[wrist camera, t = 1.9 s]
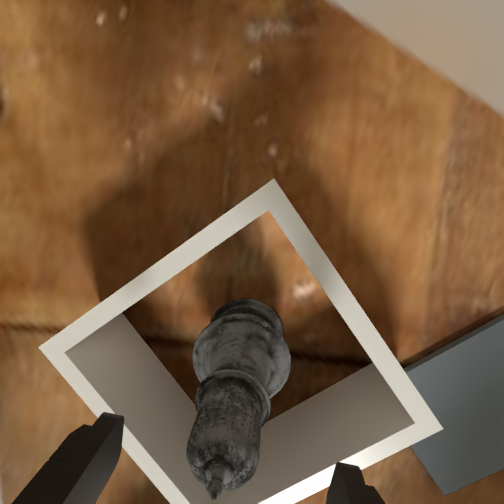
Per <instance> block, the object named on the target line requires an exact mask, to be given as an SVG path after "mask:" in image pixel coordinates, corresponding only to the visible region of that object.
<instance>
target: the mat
mask: <svg viewBox="0 0 504 504" xmlns="http://www.w3.org/2000/svg"><path fill="white" fill-rule="evenodd" d="M403 370H404V371H405V373H406V374H407V376H408V377H409V379H410V380H411V382H412V383H413V385H414V386H415V388H416V389H417V391H418V392H419V394H420V395H421V396H422V398H423V399H424V401H425V402H426V404H427V405H428V407H429V408H430V410H431V411H432V413H433V414H434V416H435V417H436V419H437V420H438V422H439V423H440V425H441V426H442V428H443V430H441V431H439V432H437V433H435V434H433V435H431V436H429V437H427V438H425V439H422V440H420V441H418V442H416V443H414V444H412V445H410V447H411V448H412V450H413V451H414V453H415V454H416V455H417V457H418V458H419V460H420V461H421V463H422V464H423V465H424V467H425V468H426V470H427V471H428V473H429V474H430V476H431V477H432V478H433V480H434V481H435V483H436V484H437V486H438V487H439V488H440V490H441V491H442V493H443V494H444V496H446V495H448V494H450V493H452V492H454V491H456V490H459V489H461V488H463V487H465V486H467V485H470V484H472V483H474V482H476V481H478V480H481V479H483V478H485V477H487V476H489V475H491V474H494V473H496V472H498V471H500V470H502V469H504V314H502V315H500V316H499V317H497V318H495V319H493V320H491V321H489V322H488V323H486V324H484V325H482V326H480V327H478V328H477V329H475V330H473V331H471V332H469V333H468V334H466V335H464V336H462V337H460V338H458V339H457V340H455V341H453V342H451V343H449V344H447V345H446V346H444V347H442V348H440V349H438V350H436V351H435V352H433V353H431V354H429V355H427V356H425V357H424V358H422V359H420V360H418V361H416V362H414V363H413V364H411V365H409V366H407V367H405V368H403Z"/></svg>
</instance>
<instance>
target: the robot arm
mask: <svg viewBox="0 0 504 504" xmlns="http://www.w3.org/2000/svg"><path fill="white" fill-rule="evenodd" d="M123 429H124V416H122V415H117V414H112V413H107V412H103V413H102V414H101V415H100V416H99V418H98V419H97V420H96V422H95V423H94V424H93V425H92V426H89V425H85V424H84V425H82V426H81V427H79V428H78V429H76V430H75V431H73V432H72V433H70V434H69V435H68V436H67V438H66V439H65V440H64V441H63V442H62V444H61V445H60V446H59V447H58V450H56V451H55V452H54V453H53V454H52V456H51V457H50V458H49V461H47V462H46V463H45V464H44V465H43V466H42V468H41V469H40V470H39V471H38V473H37V474H36V475H35V476H34V477H33V479H32V480H31V481H30V482H29V483H28V485H27V486H26V487H25V488H24V489H23V491H22V492H21V493H20V494H19V495H18V497H17V498H16V499H15V500H14V501H13V503H12V504H95V503H96V501H97V499H98V497H99V496H100V494H101V492H102V490H103V489H104V487H105V485H106V483H107V482H108V480H109V478H110V476H111V474H112V473H113V471H114V469H115V467H116V465H117V462H118V460H119V457H120V453H121V448H122V438H123ZM326 504H385V502H384V501H383V499H382V498H381V496H380V495H379V494H378V492H377V491H376V489H375V488H374V487H373V486H368V485H365V482H364V479H363V475H362V472H361V469H360V467H359V466H356V465H351V464H346V463H341V462H337V463H336V466H335V469H334V473H333V476H332V480H331V483H330V487H329V490H328V494H327V500H326Z"/></svg>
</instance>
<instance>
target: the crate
mask: <svg viewBox="0 0 504 504" xmlns="http://www.w3.org/2000/svg"><path fill="white" fill-rule="evenodd" d="M267 210H269V212H270V213H271V214H272V216H273V217H274V219H275V220H276V222H277V223H278V225H279V226H280V228H281V229H282V230H283V232H284V233H285V235H286V236H287V238H288V239H289V241H290V242H291V244H292V245H293V246H294V248H295V249H296V251H297V252H298V254H299V255H300V257H301V258H302V260H303V261H304V262H305V264H306V265H307V267H308V268H309V270H310V271H311V273H312V274H313V276H314V277H315V278H316V280H317V281H318V283H319V284H320V286H321V287H322V289H323V290H324V291H325V293H326V294H327V296H328V297H329V299H330V300H331V302H332V303H333V305H334V306H335V307H336V309H337V310H338V312H339V313H340V315H341V316H342V318H343V319H344V321H345V322H346V323H347V325H348V326H349V328H350V329H351V331H352V332H353V334H354V335H355V337H356V338H357V339H358V341H359V342H360V344H361V345H362V347H363V348H364V350H365V351H366V353H367V354H368V355H369V357H370V358H371V360H372V361H373V363H371V364H369V365H367V366H366V367H364V368H362V369H360V370H359V371H357V372H355V373H353V374H351V375H350V376H348V377H346V378H344V379H342V380H341V381H339V382H337V383H335V384H334V385H332V386H330V387H328V388H326V389H325V390H323V391H321V392H319V393H318V394H316V395H314V396H312V397H310V398H309V399H307V400H305V401H303V402H301V403H300V404H298V405H296V406H294V407H293V408H291V409H289V410H287V411H285V412H284V413H282V414H280V415H278V416H276V417H275V418H273V419H271V420H269V421H268V422H266V423H265V425H264V426H263V427H262V428H261V439H260V456H259V462H258V465H257V468H256V471H255V474H254V475H253V476H252V478H251V479H250V480H249V481H248V482H246V483H245V484H244V485H243V486H241V487H240V488H237V489H235V490H230V491H225V493H224V494H223V495H221V496H220V497H219V498H217V499H216V500H212V499H211V497H210V496H209V493H208V492H207V490H206V486H205V485H203V484H202V483H201V482H199V481H198V480H197V479H196V478H195V476H194V475H193V473H192V472H191V470H190V468H189V465H188V462H187V457H186V448H187V443H188V439H189V436H190V433H191V430H192V427H193V424H194V421H195V418H196V416H197V411H196V408H195V404H194V403H193V402H192V401H191V399H190V398H189V397H188V396H187V394H186V393H185V392H184V390H183V389H182V388H181V387H180V385H179V384H178V383H177V382H176V380H175V379H174V378H173V377H172V375H171V374H170V373H169V371H168V370H167V369H166V368H165V366H164V365H163V364H162V363H161V361H160V360H159V359H158V358H157V356H156V355H155V354H154V353H153V351H152V350H151V349H150V347H149V346H148V345H147V344H146V342H145V341H144V340H143V339H142V337H141V336H140V335H139V334H138V332H137V331H136V330H135V329H134V327H133V326H132V325H131V323H130V322H129V321H128V320H127V318H126V317H125V316H124V315H123V313H122V312H123V311H124V310H126V309H127V308H129V307H130V306H132V305H133V304H134V303H136V302H137V301H139V300H140V299H142V298H143V297H144V296H146V295H147V294H149V293H150V292H152V291H153V290H154V289H156V288H157V287H159V286H160V285H162V284H163V283H164V282H166V281H167V280H169V279H170V278H172V277H173V276H174V275H176V274H177V273H179V272H180V271H182V270H183V269H184V268H186V267H187V266H189V265H190V264H192V263H193V262H194V261H196V260H197V259H199V258H200V257H202V256H203V255H204V254H206V253H207V252H209V251H210V250H212V249H213V248H214V247H216V246H217V245H219V244H220V243H222V242H223V241H224V240H226V239H227V238H229V237H230V236H232V235H233V234H234V233H236V232H237V231H239V230H240V229H242V228H243V227H245V226H246V225H247V224H249V223H250V222H252V221H253V220H255V219H256V218H257V217H259V216H260V215H262V214H263V213H265V212H266V211H267ZM38 348H39V349H40V350H41V351H42V352H43V353H44V355H45V356H46V357H47V358H48V359H49V361H50V362H51V363H52V364H53V365H54V366H55V368H56V369H57V370H58V371H59V372H60V374H61V375H62V376H63V377H64V378H65V380H66V381H67V382H68V383H69V384H70V385H71V387H72V388H73V389H74V390H75V391H76V393H77V394H78V395H79V396H80V397H81V398H82V400H83V401H84V402H85V403H86V404H87V406H88V407H89V408H90V409H91V410H92V411H93V413H94V414H95V415H96V416H97V417H98V418H99V416H100V415H101V414H102V413H103V412H107V413H112V414H117V415H122V416H124V429H123V438H122V447H123V448H124V449H125V451H126V452H127V453H128V454H129V455H130V456H131V458H132V459H133V460H134V461H135V462H136V464H137V465H138V466H139V467H140V468H141V470H142V471H143V472H144V473H145V474H146V475H147V477H148V478H149V479H150V480H151V481H152V483H153V484H154V485H155V486H156V487H157V488H158V490H159V491H160V492H161V493H162V494H163V496H164V497H165V498H166V499H167V500H168V501H169V503H170V504H294V503H296V502H298V501H300V500H302V499H304V498H306V497H308V496H310V495H312V494H314V493H316V492H318V491H320V490H322V489H324V488H326V487H328V486H330V483H331V480H332V476H333V473H334V469H335V466H336V463H337V462H341V463H346V464H351V465H356V466H359V467H360V469H361V470H362V469H364V468H366V467H368V466H370V465H372V464H374V463H376V462H378V461H380V460H382V459H384V458H386V457H388V456H390V455H392V454H394V453H396V452H398V451H400V450H402V449H404V448H406V447H408V446H410V445H412V444H414V443H416V442H418V441H420V440H422V439H425V438H427V437H429V436H431V435H433V434H435V433H437V432H439V431H441V430H443V428H442V426H441V425H440V423H439V422H438V420H437V419H436V417H435V416H434V414H433V413H432V411H431V410H430V408H429V407H428V405H427V404H426V402H425V401H424V399H423V398H422V396H421V395H420V394H419V392H418V391H417V389H416V388H415V386H414V385H413V383H412V382H411V380H410V379H409V377H408V376H407V374H406V373H405V371H404V370H403V368H402V367H401V365H400V364H399V362H398V361H397V359H396V358H395V357H394V355H393V354H392V352H391V351H390V349H389V348H388V346H387V345H386V343H385V342H384V340H383V339H382V337H381V336H380V334H379V333H378V331H377V330H376V328H375V327H374V325H373V324H372V323H371V321H370V320H369V318H368V317H367V315H366V314H365V312H364V311H363V309H362V308H361V306H360V305H359V303H358V302H357V300H356V299H355V297H354V296H353V294H352V293H351V291H350V290H349V288H348V287H347V286H346V284H345V283H344V281H343V280H342V278H341V277H340V275H339V274H338V272H337V271H336V269H335V268H334V266H333V265H332V263H331V262H330V260H329V259H328V257H327V256H326V254H325V253H324V251H323V250H322V249H321V247H320V246H319V244H318V243H317V241H316V240H315V238H314V237H313V235H312V234H311V232H310V231H309V229H308V228H307V226H306V225H305V223H304V222H303V220H302V219H301V217H300V216H299V214H298V213H297V212H296V210H295V209H294V207H293V206H292V204H291V203H290V201H289V200H288V198H287V197H286V195H285V194H284V192H283V191H282V189H281V188H280V186H279V185H278V183H277V182H276V180H275V179H272V180H271V181H270V182H268V183H267V184H265V185H264V186H263V187H261V188H260V189H259V190H257V191H256V192H254V193H253V194H252V195H250V196H249V197H247V198H246V199H245V200H243V201H242V202H240V203H239V204H238V205H236V206H235V207H233V208H232V209H231V210H229V211H228V212H226V213H225V214H224V215H222V216H221V217H219V218H218V219H217V220H215V221H214V222H213V223H211V224H210V225H208V226H207V227H206V228H204V229H203V230H201V231H200V232H199V233H197V234H196V235H194V236H193V237H192V238H190V239H189V240H187V241H186V242H185V243H183V244H182V245H180V246H179V247H178V248H176V249H175V250H173V251H172V252H171V253H169V254H168V255H167V256H165V257H164V258H162V259H161V260H160V261H158V262H157V263H155V264H154V265H153V266H151V267H150V268H148V269H147V270H146V271H144V272H143V273H141V274H140V275H139V276H137V277H136V278H134V279H133V280H132V281H130V282H129V283H127V284H126V285H125V286H123V287H122V288H121V289H119V290H118V291H116V292H115V293H114V294H112V295H111V296H109V297H108V298H107V299H105V300H104V301H102V302H101V303H100V304H98V305H97V306H95V307H94V308H93V309H91V310H90V311H88V312H87V313H86V314H84V315H83V316H81V317H80V318H79V319H77V320H76V321H75V322H73V323H72V324H70V325H69V326H68V327H66V328H65V329H63V330H62V331H61V332H59V333H58V334H56V335H55V336H54V337H52V338H51V339H49V340H48V341H47V342H45V343H44V344H42V345H41V346H40V347H38Z"/></svg>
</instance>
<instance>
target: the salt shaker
mask: <svg viewBox="0 0 504 504" xmlns="http://www.w3.org/2000/svg"><path fill="white" fill-rule="evenodd" d="M192 356H193V367H194V370H195V373H196V376H197V378H198V380H199V381H200V383H201V384H200V385H199V387H198V389H197V392H196V396H195V408H196V411H197V416H196V418H195V421H194V424H193V427H192V430H191V433H190V436H189V439H188V443H187V448H186V457H187V462H188V465H189V468H190V470H191V472H192V473H193V475H194V476H195V478H196V479H197V480H198V481H199V482H201V483H202V484H203V485H205V486H206V490H207V492H208V493H209V496H210V497H211V499H212V500H216V499H217V498H219V497H220V496H221V495H223V494H224V493H225V491H230V490H235V489H237V488H240V487H241V486H243V485H244V484H245V483H246V482H248V481H249V480H250V479H251V478H252V476H253V475H254V474H255V471H256V468H257V465H258V462H259V456H260V439H261V428H262V427H263V426H264V425H265V423H266V422H267V420H268V417H269V414H270V398H271V397H273V396H274V395H275V394H276V393H277V392H279V391H280V390H281V388H282V387H283V385H284V384H285V382H286V381H287V379H288V375H289V372H290V369H291V355H290V352H289V348H288V344H287V343H286V341H285V339H284V329H283V325H282V322H281V320H280V318H279V316H278V315H277V313H276V312H275V311H274V310H273V309H272V308H271V307H269V306H268V305H266V304H264V303H262V302H260V301H257V300H253V299H238V300H234V301H231V302H229V303H227V304H225V305H223V306H222V307H221V308H220V309H219V310H218V311H217V312H216V314H215V315H214V317H213V319H212V320H211V323H210V324H209V325H208V326H207V327H205V328H204V329H203V330H202V331H201V333H200V335H199V337H198V338H197V340H196V342H195V345H194V349H193V353H192Z"/></svg>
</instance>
